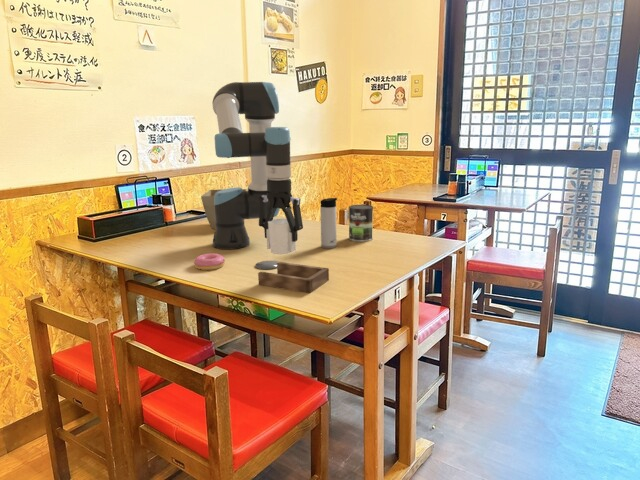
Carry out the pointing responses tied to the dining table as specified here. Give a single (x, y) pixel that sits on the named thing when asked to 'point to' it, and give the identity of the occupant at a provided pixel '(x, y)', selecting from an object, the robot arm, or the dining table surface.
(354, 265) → the dining table surface
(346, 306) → the dining table surface
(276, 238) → the white cup
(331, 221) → the travel mug
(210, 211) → the flower pot
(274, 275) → the brown wooden tray
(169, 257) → the dining table surface
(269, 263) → the coaster
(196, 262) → the doughnut
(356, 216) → the coffee can
